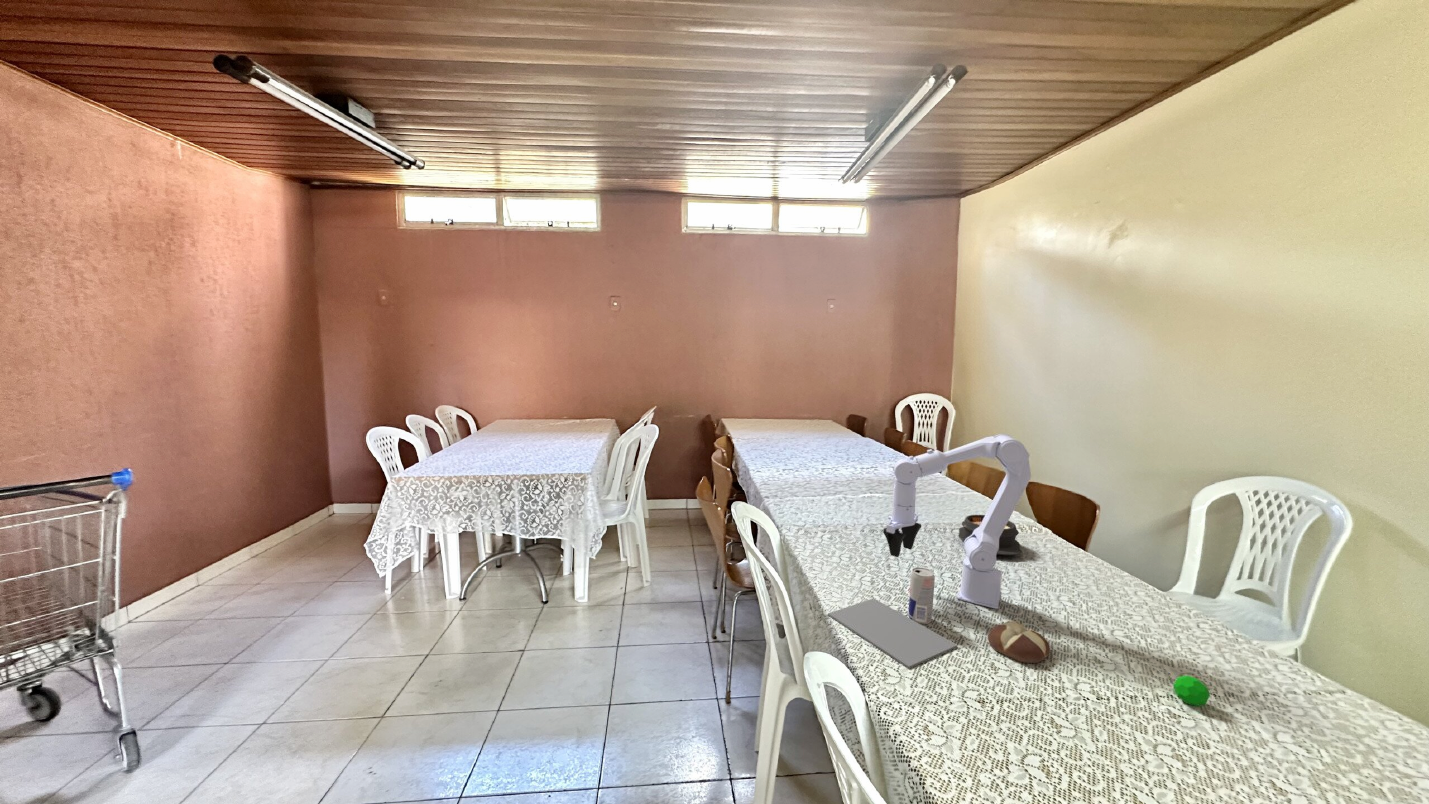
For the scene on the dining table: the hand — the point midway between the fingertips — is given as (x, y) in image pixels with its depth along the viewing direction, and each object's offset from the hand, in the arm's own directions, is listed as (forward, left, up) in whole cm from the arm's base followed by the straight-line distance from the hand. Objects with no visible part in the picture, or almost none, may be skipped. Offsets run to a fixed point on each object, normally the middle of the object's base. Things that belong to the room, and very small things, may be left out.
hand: (901, 552), depth 141 cm
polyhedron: (-57, +16, -10) cm, 61 cm away
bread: (-29, +15, -11) cm, 35 cm away
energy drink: (-8, +14, -10) cm, 20 cm away
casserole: (-17, -50, -10) cm, 54 cm away
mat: (-3, +24, -10) cm, 26 cm away
